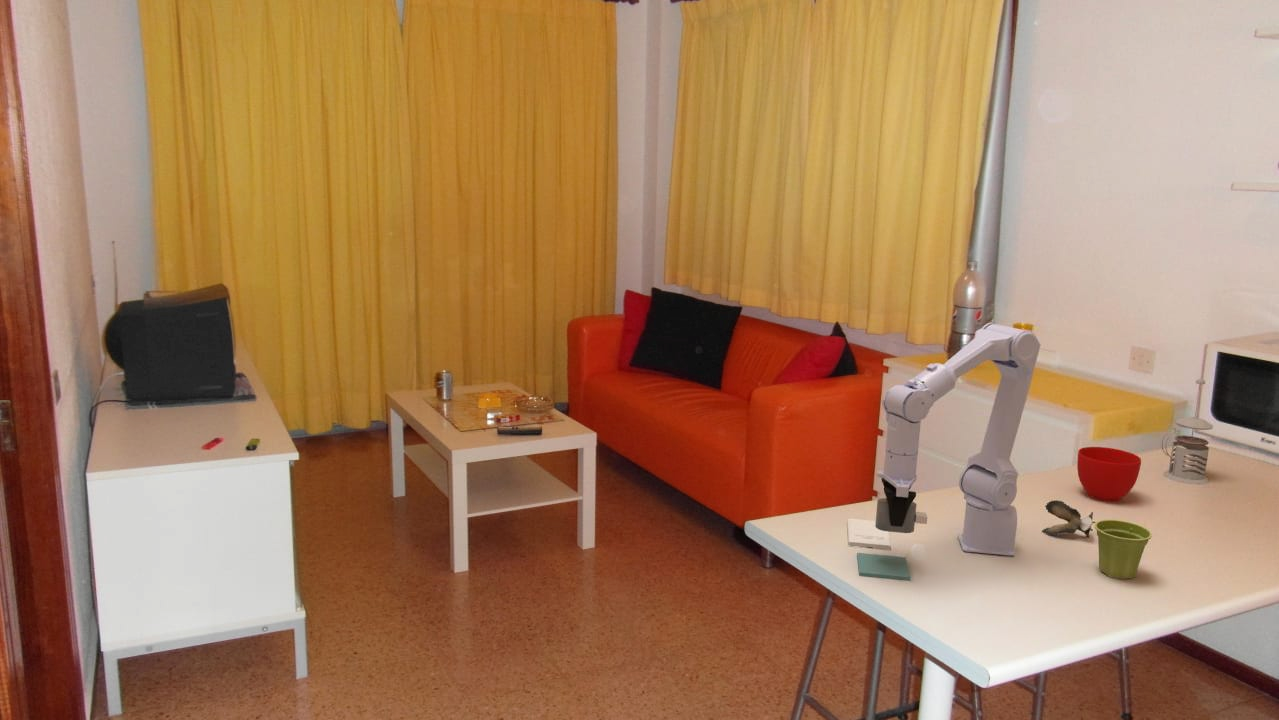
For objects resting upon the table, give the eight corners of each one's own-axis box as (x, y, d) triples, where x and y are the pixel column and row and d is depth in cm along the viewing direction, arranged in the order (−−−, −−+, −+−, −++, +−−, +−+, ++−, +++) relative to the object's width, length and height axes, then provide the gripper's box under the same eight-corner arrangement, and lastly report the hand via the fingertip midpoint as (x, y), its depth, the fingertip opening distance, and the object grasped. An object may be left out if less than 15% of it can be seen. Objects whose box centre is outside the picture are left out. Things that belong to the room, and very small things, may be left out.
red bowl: (1139, 489, 218) (1145, 449, 216) (1132, 511, 204) (1138, 467, 202) (1079, 478, 225) (1084, 439, 222) (1069, 498, 211) (1074, 456, 208)
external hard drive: (887, 529, 192) (891, 553, 180) (846, 525, 193) (848, 548, 181) (887, 521, 191) (891, 545, 179) (847, 518, 193) (848, 540, 181)
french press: (1217, 484, 223) (1234, 384, 217) (1169, 483, 223) (1184, 382, 218) (1194, 471, 232) (1209, 374, 227) (1148, 470, 232) (1162, 373, 227)
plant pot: (1143, 588, 165) (1150, 543, 164) (1086, 575, 170) (1091, 531, 168) (1147, 570, 173) (1153, 526, 171) (1092, 558, 178) (1097, 515, 176)
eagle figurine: (1086, 523, 193) (1041, 510, 195) (1098, 503, 188) (1052, 490, 190) (1084, 552, 188) (1038, 539, 190) (1097, 533, 183) (1050, 519, 185)
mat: (905, 560, 175) (905, 557, 175) (910, 580, 166) (910, 577, 166) (856, 555, 177) (857, 552, 176) (859, 575, 168) (859, 572, 168)
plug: (875, 530, 170) (878, 504, 169) (874, 522, 174) (876, 497, 173) (926, 535, 169) (928, 509, 168) (923, 527, 173) (926, 501, 172)
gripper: (876, 438, 176) (870, 505, 179) (881, 461, 162) (875, 533, 165) (914, 441, 175) (908, 508, 178) (923, 464, 161) (916, 537, 164)
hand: (895, 521), depth 171 cm, fingers closed on plug, 4 cm apart
